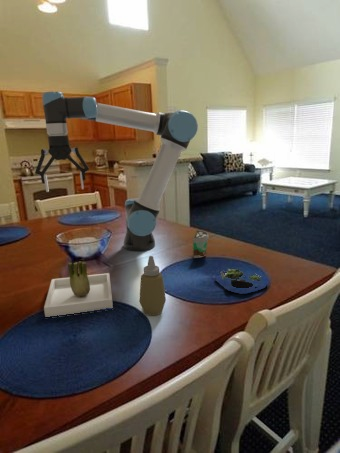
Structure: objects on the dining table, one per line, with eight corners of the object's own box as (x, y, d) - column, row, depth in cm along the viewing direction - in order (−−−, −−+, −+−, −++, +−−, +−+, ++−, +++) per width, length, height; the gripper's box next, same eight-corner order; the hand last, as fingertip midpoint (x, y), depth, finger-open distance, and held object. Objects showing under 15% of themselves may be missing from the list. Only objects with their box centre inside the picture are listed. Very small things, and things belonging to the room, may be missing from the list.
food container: (207, 261, 137) (207, 238, 134) (192, 260, 138) (193, 238, 135) (209, 250, 149) (210, 230, 146) (196, 250, 150) (196, 229, 147)
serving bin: (109, 281, 120) (109, 273, 119) (112, 309, 101) (112, 299, 100) (53, 288, 116) (51, 279, 115) (45, 318, 97) (43, 307, 96)
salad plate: (201, 277, 123) (201, 266, 122) (239, 268, 130) (240, 257, 129) (232, 300, 106) (232, 287, 105) (274, 288, 114) (275, 276, 112)
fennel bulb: (69, 296, 108) (65, 263, 104) (79, 290, 112) (76, 257, 108) (83, 300, 105) (79, 266, 102) (93, 293, 109) (90, 260, 106)
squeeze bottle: (139, 304, 103) (137, 252, 98) (165, 303, 104) (163, 251, 99) (139, 319, 96) (137, 262, 91) (167, 317, 96) (165, 261, 91)
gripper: (91, 133, 130) (96, 186, 136) (25, 136, 125) (34, 191, 131) (91, 133, 123) (97, 188, 129) (21, 137, 118) (30, 194, 124)
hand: (65, 190), depth 130 cm, fingers open, 13 cm apart
